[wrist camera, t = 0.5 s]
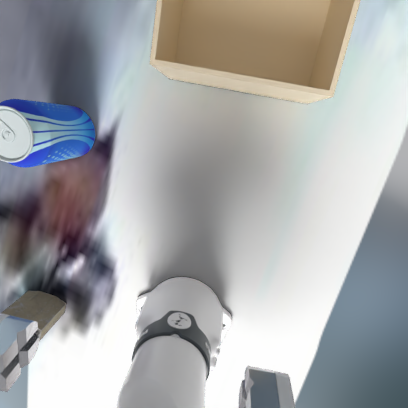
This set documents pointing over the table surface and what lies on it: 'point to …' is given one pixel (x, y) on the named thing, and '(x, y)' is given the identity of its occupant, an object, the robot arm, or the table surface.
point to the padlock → (38, 310)
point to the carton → (255, 45)
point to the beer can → (43, 132)
